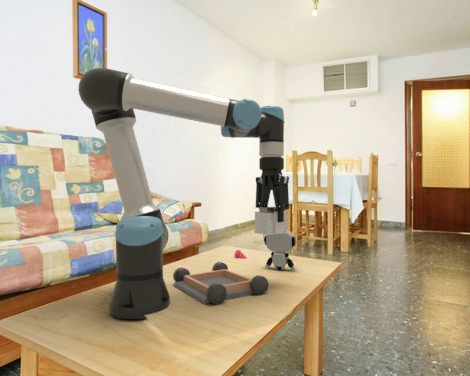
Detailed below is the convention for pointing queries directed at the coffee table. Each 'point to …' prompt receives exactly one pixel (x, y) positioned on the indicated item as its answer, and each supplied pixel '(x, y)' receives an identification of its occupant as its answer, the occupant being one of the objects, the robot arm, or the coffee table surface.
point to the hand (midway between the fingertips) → (271, 231)
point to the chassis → (218, 284)
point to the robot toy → (280, 249)
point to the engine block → (267, 221)
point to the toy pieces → (239, 255)
